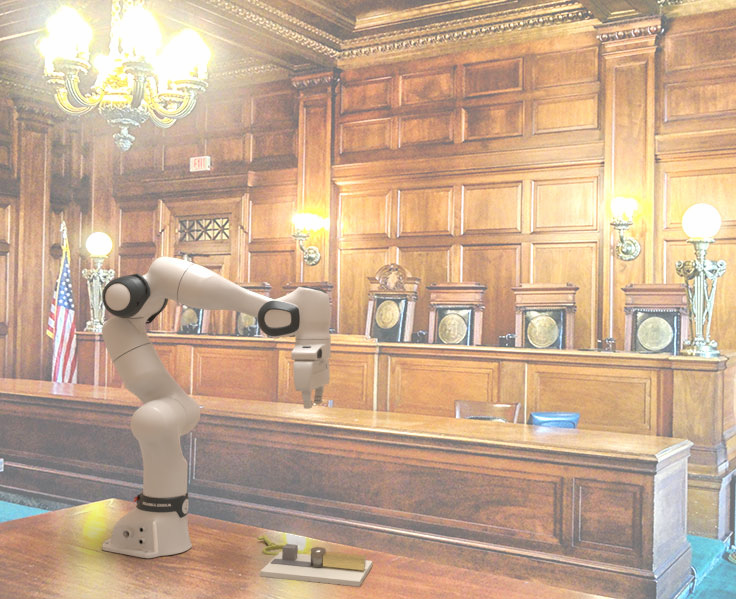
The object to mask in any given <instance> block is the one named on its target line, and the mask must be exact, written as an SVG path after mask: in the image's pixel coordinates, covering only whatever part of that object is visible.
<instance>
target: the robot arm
mask: <svg viewBox="0 0 736 599" xmlns="http://www.w3.org/2000/svg"><path fill="white" fill-rule="evenodd" d="M101 294H102V295H101V296H102V297H101V299H102V303H103V306H104V308H105V310H107V312H109V313H110V314H111V315H113V316H111V317H109V318H108V319H107V320H106V321H105V322H104V324H103V325H102V327H101V335H102V338H103V341H104V346H105V348H106V351H107V353H108V356H109V358H110V359H111V362H112V363H113V366H114V367H115V369H116V371H117V373H118V376H119V377H120V379H121V381H122V383H123V385H124V387H125V389H126V390H128V392H130V393H131V394H133V395H134V396H136V398H138V399H139V401H141V403H142V405H141V406H140V407H138V408H137V409H136V410H135V412H134V413H133V414H132V416H131V419H130V430H131V433H132V435H133V437H134V438H135V439H136V440H137V441H138V444H139V448H140V452H141V457H142V465H143V482H142V485H143V488H142V489H143V490H142V491H141V493H139V494H138V495H137V494H136V496H135V497H133V501H132V503H135V502H136V505H135V507H133V509H131V510H130V511H128V512H127V513H126V514H125V515H123V516H122V517H121V518H119V519H118V520H117V521H116V522H115V524H114V526H113V529H112V532H111V537H109V538H107V539H106V540H105V541H104V542H103V543H102V546H101V550H102V551H106V552H110V553H111V552H112V553H117V554H122V555H127V556H131V557H137V558H144V559H153V558H157V557H162V556H170V555H177V554H180V553H184V552H186V551H188V550H190V549H191V548H192V546H193V545H192V542H191V538H190V537H191V536H190V532H189V525H188V524H189V523H188V512H189V502H190V501H189V492H188V461H187V460H186V459H187V458H185V457H184V454H183V450H182V445H181V437H182V436H184V435H187V434H188V433H190V432H191V431H192V430H193V429H194V428H195V427H196V426H197V424H199V421H200V420H201V419H200V418H201V415H202V414H201V411H202V410H201V408H200V404H199V403H198V402H197V401H196V399H194V398H193V397H191V396H189V394H187V393H186V391H184V389H183V388H182V387H181V386H180V385H179V384H178V382H177V381H176V380H175V378H174V377H173V376H172V375H171V374H170V372H169V371H168V369H167V368H166V366H165V365H164V363H163V361H162V359H161V357H160V355H159V353H158V352H157V350H156V348H155V345H154V344H153V342H152V340H151V339H150V337H149V335H148V332H147V330H146V325H149V324H152V323H153V321H154V320H156V317H157V316H158V315H160V314H161V313H162V312H163V311H164V310H165V309H166V307H167V305H168V304H169V301H170V300H171V301H174V302H176V303H179V304H181V305H182V306H183V305H184V306H186V307H190V308H194V309H199V310H203V311H205V310H206V311H232V312H233V311H234V312H239V313H242V314H245V315H248V316H251V317H253V318H256V319H257V324H258V326H259V328H260V330H261V332H262V333H264V334H265V335H267V336H269V337H272V338H285V337H286V338H287V337H289V338H295V344H294V347H293V348H292V350H291V352H290V353H291V355H290V356H291V360H293V365H292V366H293V368H292V370H293V381H294V382H293V383H294V388H295V390H296V391H297V392H301V398H302V400H303V401H302V402H303V408H304V409H307V410H308V409H309V410H310V409H311V408H312V407H313V402H314V404H315V405H320V404H322V403H323V395H324V390H325V385H328V384H329V383H330V379H331V378H330V374H331V373H330V360H329V358H331V356H332V355H331V353H332V351H331V348H332V346H331V342H332V341H331V340H332V338H331V334H330V326H331V325H330V324H331V319H332V318H331V317H332V316H331V315H332V314H331V302H330V297H329V294H328V292H327V291H326V290H325V289H323V288H321V287H316V286H310V285H301V286H300V285H299V286H298V287H297V288H296V289H294V290H293V291H291V292H290V293H288V294H285V295H284V296H281V297H278V298H273V297H269V296H267V295H264V294H262V293H258V292H256V291H253V290H250V289H247V288H244V287H242V286H240V285H239V284H236V283H235V282H232V281H231V280H229V279H227V278H225V277H223V276H222V275H220V274H218V273H216V272H215V271H213V270H211V269H209V268H207V267H205V266H203V265H200V264H197V263H194V262H191V261H188V260H185V259H181V258H177V257H171V256H160V257H157V258H156V259H155V260H153V261H152V262H151V264H150V266H149V268H148V271H147V272H146V273H145V274H143V275H142V274H140V273H134V274H127V275H122V276H119V277H115V278H113V279H112V280H110V281H109V282H107V284H106V285H105V286H104V288H103V290H102V293H101ZM313 390H314V397H313V400H312V394H313V393H312V392H313Z"/></svg>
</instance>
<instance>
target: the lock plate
mask: <svg viewBox="0 0 736 599" xmlns="http://www.w3.org/2000/svg"><path fill="white" fill-rule="evenodd" d="M283 545H284V546H283V549H281V550H282V551H278V552H279V553H278V554H277V555H274V557H273V558H272V559H271V560H270V561H269V562H268V563H267V564H266V565H265V566H264V567H263V568H262V569H261V570H260V571H259V572H260V577H262V578H263V577H265V578H272V579H273V578H274V579H282V580H283V579H284V580H293V581H300V582H301V581H302V582H312V583H319V582H320V583H321V584H328V583H330V585H338V584H340V586H347V587H348V586H350V587H358V588H359V587H361V585H362V584H363V583H364V580H366V577H367V575H368V574H369V572H370V570H371V569H372V567H373V562H374V561H373V560H368V559H366V567H365V568H364V570H357V569H347V568H337V567H327V566H323V567H313V566H311V554H305V553H298V552H299V551H298V549H299V545H298V544H293V543H285V544H283Z"/></svg>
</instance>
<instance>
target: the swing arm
mask: <svg viewBox="0 0 736 599" xmlns="http://www.w3.org/2000/svg"><path fill="white" fill-rule="evenodd" d="M310 555H311V566H313V567H323V566H327V567H337V568H347V569H357V570H364V568H365V567H366V560H367V555H366V554H359V553H358V554H357V553H347V552H346V553H345V552H335V551H327V549H326V548H325V547H321V546H315V547H314V546H313V547H312V548H311V549H310Z"/></svg>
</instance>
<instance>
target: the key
mask: <svg viewBox="0 0 736 599" xmlns="http://www.w3.org/2000/svg"><path fill="white" fill-rule="evenodd" d="M256 539H257V540H258V541H261V540H263V541H264V542H265V543H266V544H267V546H265V547H263V548H262V552H261V553H262V554H263V555H267V556H276V555H277V554H278V553H279V552H280V551H277V552H275V550H282V549H283V546H284V545H285V544H276V543H275V542H273V541H271V539H270V538H269V537H268V536H267V534H263V535H261V536H257V537H256ZM273 551H274V552H273Z"/></svg>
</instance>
